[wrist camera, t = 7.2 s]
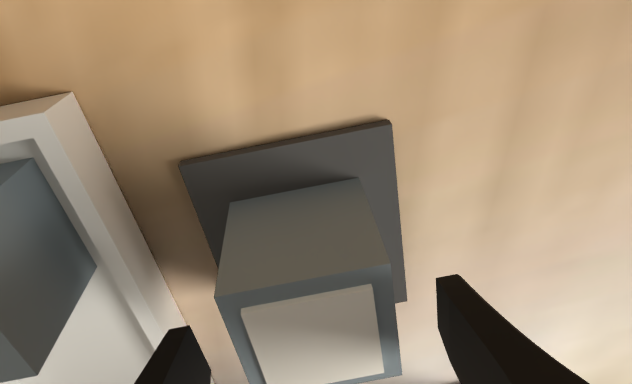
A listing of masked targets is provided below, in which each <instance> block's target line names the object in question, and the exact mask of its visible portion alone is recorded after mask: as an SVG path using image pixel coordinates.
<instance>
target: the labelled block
mask: <svg viewBox="0 0 632 384" xmlns="http://www.w3.org/2000/svg"><path fill="white" fill-rule="evenodd" d="M214 299H215V301H216V304H217V306H218V308H219V311H220V313H221V316H222V318H223V320H224V323H225V325H226V328H227V330H228V333H229V335H230V337H231V340H232V342H233V345H234V347H235V350H236V352H237V354H238V357H239V359H240V362H241V364H242V367H243V369H244V371H245V374H246V376H247V379H248V381H249V383H250V384H357V383H362V382H368V381H373V380H378V379H384V378H389V377H394V376H400V375H402V368H401V358H400V349H399V339H398V330H397V320H396V310H395V301H394V291H393V281H392V272H391V263H390V260H389V258H388V255H387V252H386V249H385V247H384V244H383V241H382V239H381V236H380V233H379V230H378V228H377V225H376V222H375V220H374V217H373V214H372V211H371V209H370V206H369V203H368V201H367V198H366V195H365V192H364V190H363V187H362V184H361V182H360V179H359V178H354V179H349V180H344V181H339V182H333V183H328V184H323V185H318V186H313V187H308V188H302V189H297V190H292V191H287V192H282V193H277V194H272V195H266V196H261V197H256V198H251V199H246V200H241V201H235V202H230V205H229V211H228V217H227V223H226V229H225V235H224V240H223V246H222V252H221V258H220V264H219V270H218V276H217V282H216V287H215V293H214Z"/></svg>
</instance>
